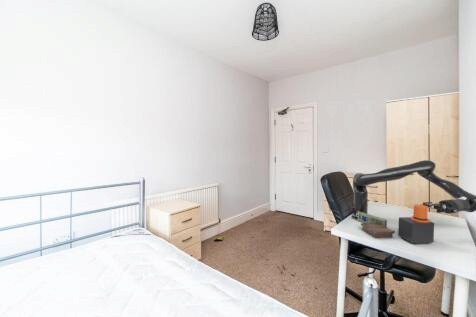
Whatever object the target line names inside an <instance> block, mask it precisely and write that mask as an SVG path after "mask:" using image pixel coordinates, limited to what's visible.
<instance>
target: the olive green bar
mask: <svg viewBox="0 0 476 317" xmlns="http://www.w3.org/2000/svg"><path fill="white" fill-rule="evenodd" d="M357 212H358V213H357V214H358V215H357V216H358V217H355V216H354V215H351V218H353V219H355V220H356V221H358V222H360V223H380V224H382V225H384V226H386V227H387V228H388V220H387V219H385V218H382V217H379V216H376V215H372V214H369V213H368V214H366V213H363V212H359V211H357Z"/></svg>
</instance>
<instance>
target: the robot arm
mask: <svg viewBox="0 0 476 317" xmlns="http://www.w3.org/2000/svg"><path fill="white" fill-rule="evenodd" d="M435 169H436V163H435V162H434V161H432V160H429V159H427V160H426V159H424V160H419V161H416V162H413V163H409V164H408V163H407V164H404V165H399V166H393V167H388V168H384V169H382V170H380V171H377V172H372V173H362V172H358V173H355V174H354V175H353V177H352V189H353V206H351V211H352V212H353V214H352V215H353V216H354V217H357V218H358V216H357V215H358V214H357V213H358V212H357V211H359V212H363V213H366V214H369V213H368V210H369V208H368V207H369V206H368V205H369V203H368V202H369V201H368V200H369V199H368V198H369V192H368V188H367V186H370V185H373V184H378V183H385V182H392V181H396V180H397V181H398V180H401V179H404V178H406V177H408V176H411V175H412V174H414V173H416V174H417V175H418V176H420V177H421V178H423V179H425V180H427V181H429V182H431V183H432V184H434V185H435V186H437V187H438V188H440V189H442V190H443V191H444V192H445V193H447V194H448V195H449V196H450V197H452V198H453V199H452V198H451V199H443V200H440V201H438V202H432V201H424V202H422V203H421V204H420V205H425V206H427V207H428V209H430V210H435V211H436V213H438V214H440V213H443V214H448V215H449V214H450V215H451V214H457V213H460V212H466V213H474V212H476V194H473V193H471V192H468V191H467V190H465V189H464V188H462V187H461V186H460V185H458V184H456V183H455V182H453V181H450V180H447V179H443V178H441V177H439V176H438V175H437V174H436V173H434V172H435ZM463 197H464V198H465V199H463Z"/></svg>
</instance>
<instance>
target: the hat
mask: <svg viewBox="0 0 476 317" xmlns="http://www.w3.org/2000/svg"><path fill="white" fill-rule="evenodd" d="M428 209H429V208H428V207H427V206H425V205H421V204H418V203H417V204H413V213H412V214H413V215H412V216H409V217H410V219H411V220H413V221H416V222H422V223H430V222H432V220H431V219H429V218H428Z"/></svg>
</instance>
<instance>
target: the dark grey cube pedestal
mask: <svg viewBox="0 0 476 317" xmlns="http://www.w3.org/2000/svg"><path fill="white" fill-rule="evenodd" d="M410 217H411V216H404V217H401V216H399V217H398V237H400V238H402V239H404V240H405V241H408V242H409V243H411V244H414V245H420V244H421V245H425V244H429V243H434V241H435V238H434V237H435V222H433V221H431V222H430V223H422V222H416V221H413V220H411V219H410Z"/></svg>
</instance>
